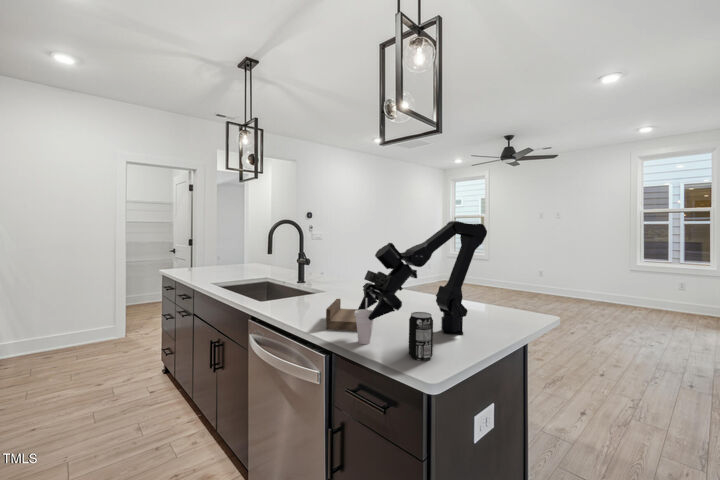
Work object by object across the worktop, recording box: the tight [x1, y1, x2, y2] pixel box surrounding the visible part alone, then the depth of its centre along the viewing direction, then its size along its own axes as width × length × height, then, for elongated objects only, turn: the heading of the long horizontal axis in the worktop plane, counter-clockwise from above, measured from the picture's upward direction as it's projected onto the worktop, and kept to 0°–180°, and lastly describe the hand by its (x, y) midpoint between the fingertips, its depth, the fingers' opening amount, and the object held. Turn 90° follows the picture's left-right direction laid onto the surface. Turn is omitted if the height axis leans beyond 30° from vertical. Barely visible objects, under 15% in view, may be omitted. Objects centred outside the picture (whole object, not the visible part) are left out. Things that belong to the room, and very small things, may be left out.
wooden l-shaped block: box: [325, 298, 358, 332], centre depth 126 cm, size 14×18×7 cm
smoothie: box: [354, 298, 374, 345], centre depth 105 cm, size 6×6×14 cm
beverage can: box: [408, 311, 434, 361], centre depth 93 cm, size 7×7×12 cm
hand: (363, 315), depth 104 cm, fingers open, 9 cm apart
